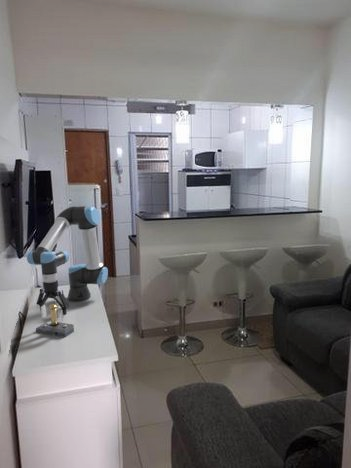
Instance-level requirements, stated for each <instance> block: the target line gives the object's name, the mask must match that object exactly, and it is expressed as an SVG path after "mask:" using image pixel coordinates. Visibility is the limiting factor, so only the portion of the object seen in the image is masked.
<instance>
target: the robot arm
mask: <svg viewBox="0 0 351 468" xmlns="http://www.w3.org/2000/svg"><path fill="white" fill-rule="evenodd" d="M99 222H100V213H99V211H98V210H97V208H96V207H94V206H89V205H82V206H81V205H80V206H70V207H67V208H65V209H64V210H62V211H61V212H59V214H58V215H57V216H56V217H55V219H54V223H53V225H52V226H51V227H50V229H49V230H48V232H47V233H46V235H45V237H44V238H43V239H42V240H41V242H40V244H39V245H38V246H37V248H36V249H35V250H30V251H29V252H27V255H26V260H27V263H28V264H30V265H35V266H41V276H42V286H43V287H42V288H40V289H39V293H38V297H37V300H36V305H37V306H39V310H40V312H41V319H44V318H46V317H47V309H46V307H47V306H46V302H47V301H48V299H52V300H54V301H56V302H57V303H58V306H60V307H61V308H62V309H61V311H60V317H61V322H64V321H66V320H67V309H68V308H70V305H69V302H68V301H70V302H81V301H86V300H88V299H90V298H91V292H90V289H89V286H88V285H104V284H105V283H106V281H107V279H108V277H109V270H108V267H106V266H104V263H103V262H102V261H101V257H100V250H99V249H100V248H99V245H98V244H99V243H98V238H97V232H96V228H97V227H98V224H99ZM72 225H73V226H74V225H75V226H76V225H77V226H78V230H80V231H81V235H82V241H83V247H84V252H85V258H86V263H87V264H86V263H78V264H73V265H71V266H70V267H68V282H69V290H68V295H67V298H66V296H65V294H64V291H63V289H61V290H59V289H58V288H59V281H58V279H59V277H58V267H60V266H62V265H65V264H66V263H68V261H69V259H70V255H69V252H67V251H66V250H64V249H62V250H58V251H52V250H54V248H55V246H56V244H57V243H58V241H59V240H60V238H61V237H62V236H63V234H64V232H65V231H66V230H68V229H69V228H70V227H71V226H72Z"/></svg>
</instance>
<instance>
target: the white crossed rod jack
mask: <svg viewBox="0 0 351 468" xmlns="http://www.w3.org/2000/svg"><path fill="white" fill-rule="evenodd" d="M54 304H56V305H57V307H56V314H57V318H60V312H61V309H62V308H61V307H60V306H59V304H58V303H57V302H56V300H54ZM48 310H49V311H50V309H49V308H48Z"/></svg>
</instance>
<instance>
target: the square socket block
mask: <svg viewBox="0 0 351 468" xmlns="http://www.w3.org/2000/svg"><path fill="white" fill-rule="evenodd" d="M74 326H75V325H74V324H71V323H66V322H62V321H61V322H59V321H57V326H55V327H53V326H52V324H51V322H50V323H46V322H44V323H43V324H41V325H39V326H37V327H36V328H35V332H37V333H42V334H47V335H52V336H57V337H63V338H67V337H68V336H70V335H71V334H73V333H74V332H75V327H74Z"/></svg>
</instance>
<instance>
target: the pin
mask: <svg viewBox="0 0 351 468" xmlns="http://www.w3.org/2000/svg"><path fill="white" fill-rule="evenodd" d="M56 307H57V305H56V304H55V303H53V304H49V305H48V310H49V309H50V310H49V312H50V321H51V322H50V323H51V324H52V326H53V327H55V326H57V322H58V317H57V314H56Z"/></svg>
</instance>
